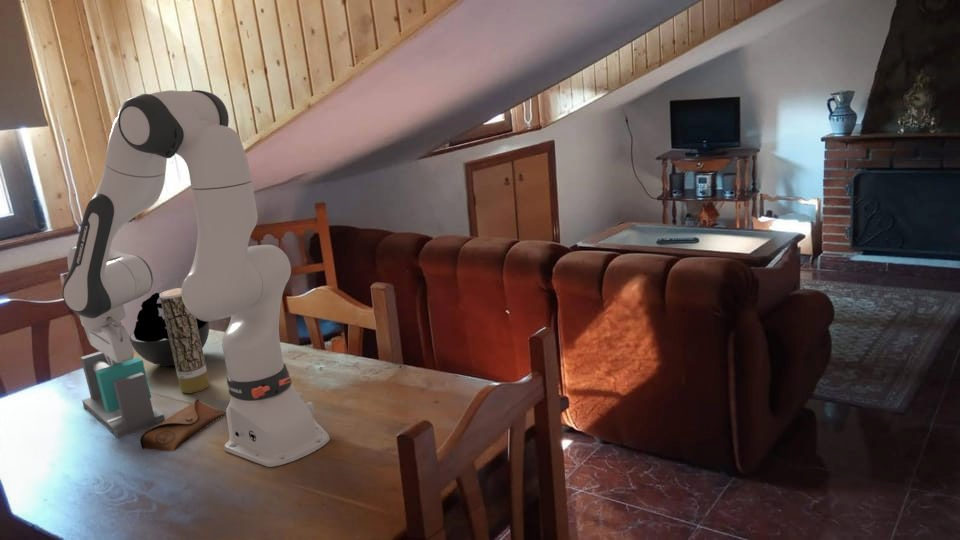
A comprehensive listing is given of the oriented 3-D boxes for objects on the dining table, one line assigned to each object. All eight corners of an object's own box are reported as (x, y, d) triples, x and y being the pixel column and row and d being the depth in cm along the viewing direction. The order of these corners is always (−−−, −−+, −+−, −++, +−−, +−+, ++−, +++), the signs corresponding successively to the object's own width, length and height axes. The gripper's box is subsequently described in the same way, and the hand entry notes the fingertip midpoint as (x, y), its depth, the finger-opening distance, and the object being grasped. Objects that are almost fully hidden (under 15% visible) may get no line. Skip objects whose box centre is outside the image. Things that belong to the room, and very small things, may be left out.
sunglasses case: (173, 452, 151) (154, 425, 150) (153, 465, 154) (134, 439, 153) (229, 412, 167) (211, 388, 167) (210, 424, 170) (193, 401, 170)
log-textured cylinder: (203, 393, 179) (183, 295, 172) (176, 395, 179) (154, 297, 172) (213, 381, 185) (194, 286, 179) (187, 383, 186) (166, 289, 179)
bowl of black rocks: (211, 369, 193) (197, 301, 188) (130, 383, 189) (113, 314, 184) (219, 344, 212) (206, 281, 207) (145, 356, 208) (130, 293, 203)
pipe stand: (165, 420, 166) (153, 371, 163) (118, 438, 160) (106, 387, 156) (126, 391, 185) (115, 346, 182) (83, 406, 178) (71, 360, 175)
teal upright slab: (151, 397, 168) (142, 360, 166) (109, 412, 162) (99, 374, 160) (146, 394, 170) (137, 357, 168) (104, 409, 164) (95, 371, 162)
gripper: (133, 317, 158) (147, 377, 161) (103, 302, 172) (116, 357, 176) (102, 326, 153) (117, 387, 157) (74, 309, 168) (88, 366, 172)
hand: (116, 371), depth 167 cm, fingers closed
